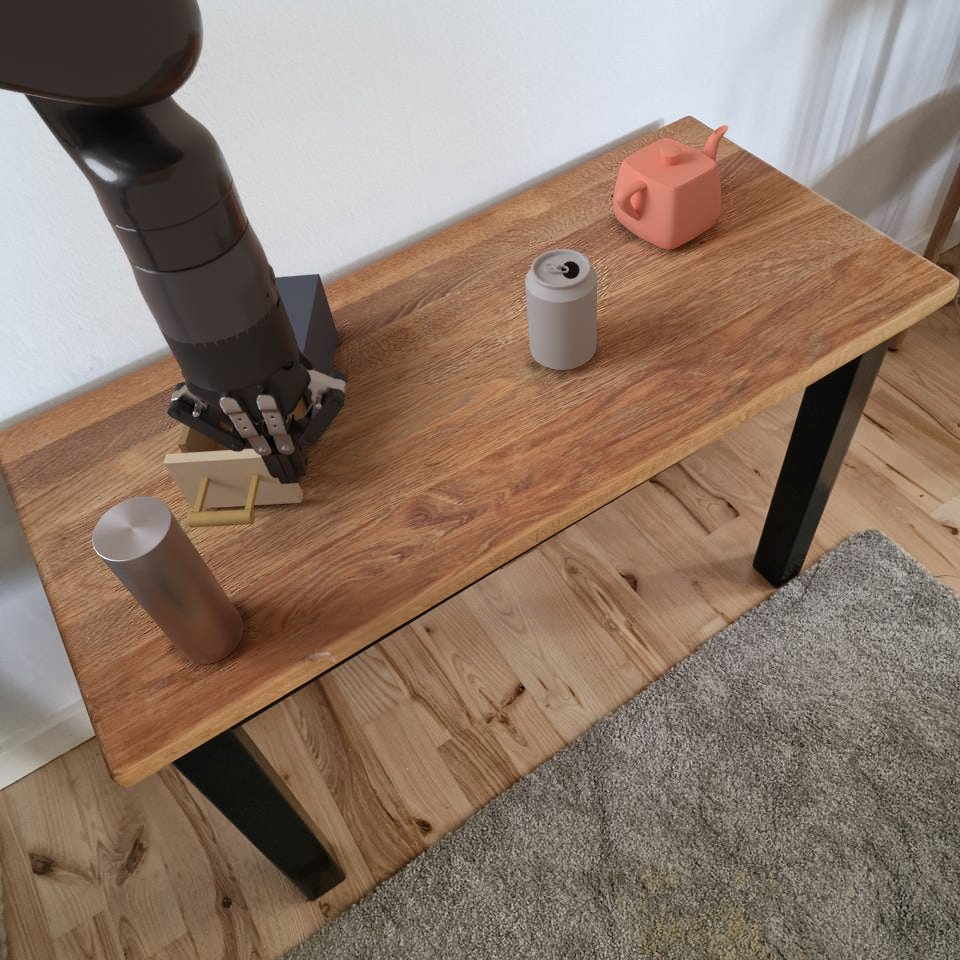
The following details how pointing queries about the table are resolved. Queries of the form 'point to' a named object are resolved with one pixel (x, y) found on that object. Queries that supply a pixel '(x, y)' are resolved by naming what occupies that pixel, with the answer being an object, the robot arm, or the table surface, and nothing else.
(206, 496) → the drawer
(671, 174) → the teapot
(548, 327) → the can
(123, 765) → the table surface
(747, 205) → the table surface
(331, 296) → the table surface
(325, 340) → the cabinet
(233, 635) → the cylinder
